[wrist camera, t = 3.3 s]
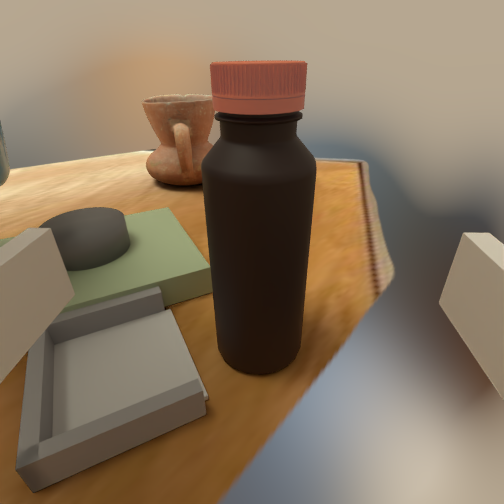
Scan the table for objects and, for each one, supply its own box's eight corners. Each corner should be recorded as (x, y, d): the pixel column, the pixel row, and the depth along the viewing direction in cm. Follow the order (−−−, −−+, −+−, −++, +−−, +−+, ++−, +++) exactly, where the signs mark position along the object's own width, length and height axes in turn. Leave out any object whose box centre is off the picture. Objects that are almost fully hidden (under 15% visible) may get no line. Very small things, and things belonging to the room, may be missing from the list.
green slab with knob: (-85, 546, 16) (-168, 487, 13) (-2, 264, 37) (-25, 217, 34) (272, 384, 24) (274, 322, 20) (171, 227, 45) (164, 185, 42)
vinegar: (248, 304, 31) (243, 60, 21) (314, 334, 28) (347, 60, 17) (200, 351, 26) (161, 63, 16) (272, 393, 23) (283, 64, 13)
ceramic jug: (155, 167, 69) (143, 92, 61) (224, 164, 70) (220, 91, 63) (141, 200, 53) (122, 106, 46) (229, 195, 55) (225, 103, 47)
